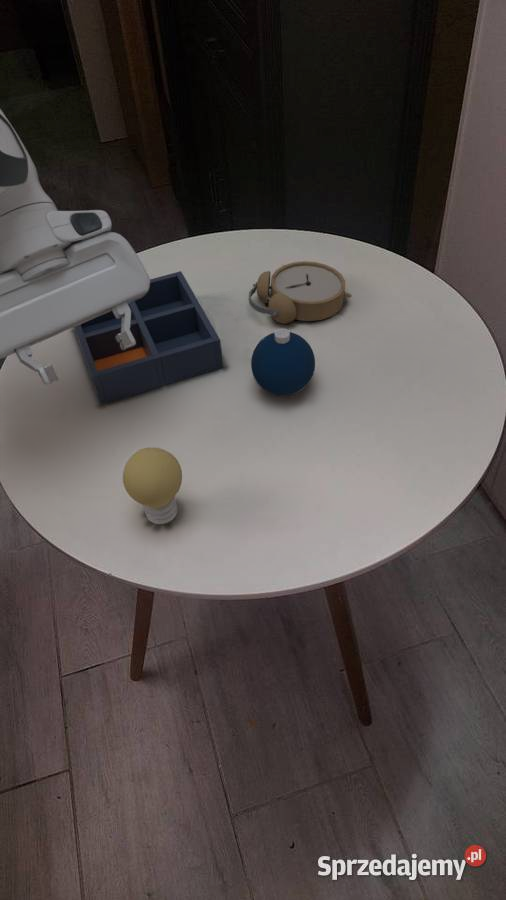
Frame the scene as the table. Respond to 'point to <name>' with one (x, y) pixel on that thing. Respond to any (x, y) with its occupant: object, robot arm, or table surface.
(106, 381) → the navy compartment tray
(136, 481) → the light bulb
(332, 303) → the alarm clock
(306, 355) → the christmas ornament
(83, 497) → the table surface
